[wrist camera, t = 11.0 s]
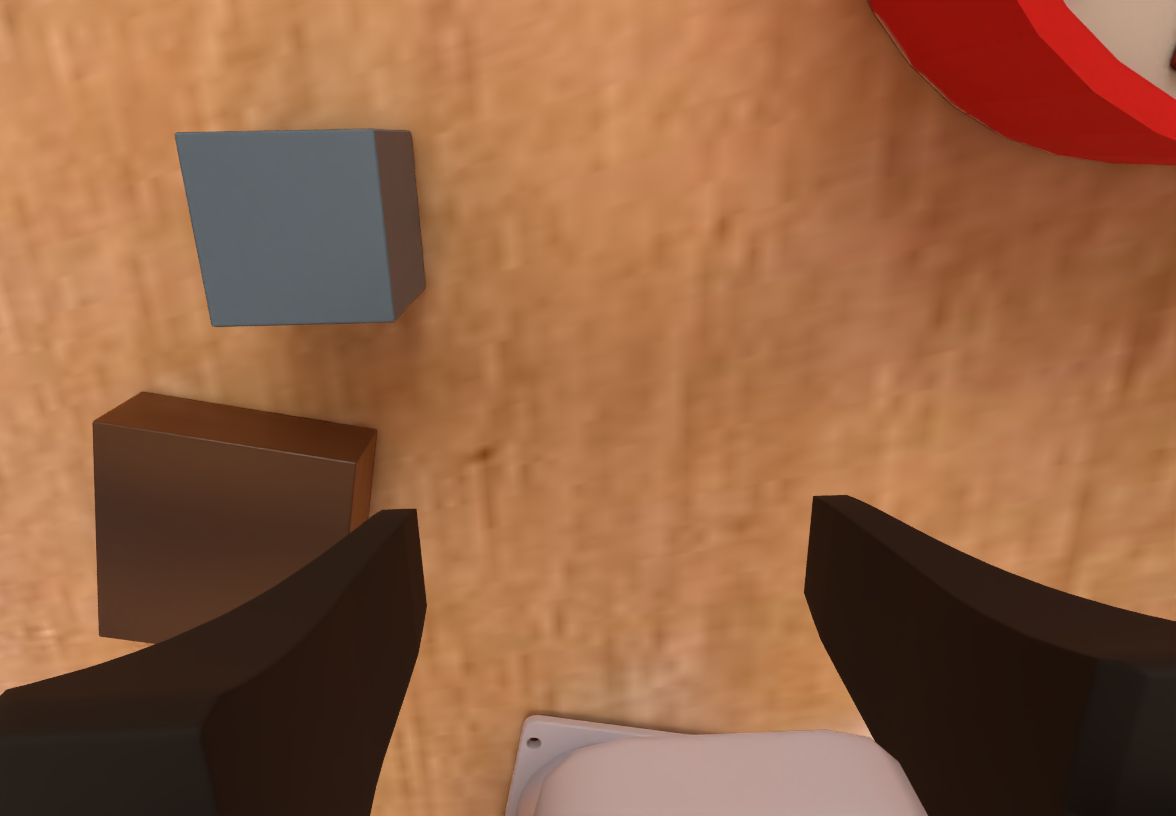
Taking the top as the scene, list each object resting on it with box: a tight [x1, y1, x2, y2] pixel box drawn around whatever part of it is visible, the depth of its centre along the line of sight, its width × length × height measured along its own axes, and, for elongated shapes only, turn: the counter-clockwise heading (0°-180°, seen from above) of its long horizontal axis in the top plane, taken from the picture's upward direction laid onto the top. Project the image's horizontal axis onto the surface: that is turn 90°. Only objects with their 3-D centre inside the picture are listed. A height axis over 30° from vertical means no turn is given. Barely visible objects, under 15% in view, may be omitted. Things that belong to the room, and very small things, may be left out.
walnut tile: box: [93, 392, 377, 644], centre depth 23 cm, size 7×7×3 cm
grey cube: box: [175, 129, 425, 327], centre depth 19 cm, size 4×4×4 cm
